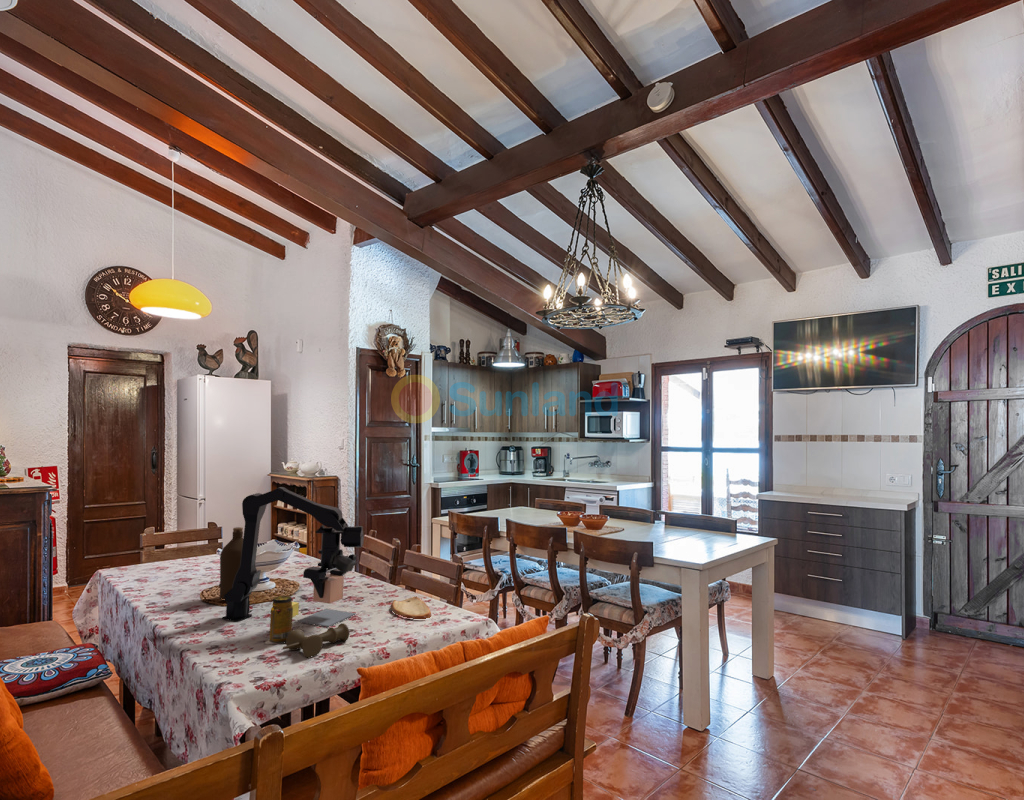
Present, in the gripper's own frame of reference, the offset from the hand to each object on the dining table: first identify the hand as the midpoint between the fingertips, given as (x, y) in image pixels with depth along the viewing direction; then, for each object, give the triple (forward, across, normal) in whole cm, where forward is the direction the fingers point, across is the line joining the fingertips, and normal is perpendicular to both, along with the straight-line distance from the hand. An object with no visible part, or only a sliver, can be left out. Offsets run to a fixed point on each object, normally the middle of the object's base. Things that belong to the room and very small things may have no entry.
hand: (328, 595), depth 191 cm
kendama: (+8, -23, -14) cm, 28 cm away
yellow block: (+8, -3, +13) cm, 15 cm away
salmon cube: (+2, 0, 0) cm, 2 cm away
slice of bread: (+8, +19, -21) cm, 29 cm away
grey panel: (+7, 0, 0) cm, 7 cm away
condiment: (+8, -21, -1) cm, 22 cm away
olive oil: (+8, +4, +44) cm, 45 cm away
